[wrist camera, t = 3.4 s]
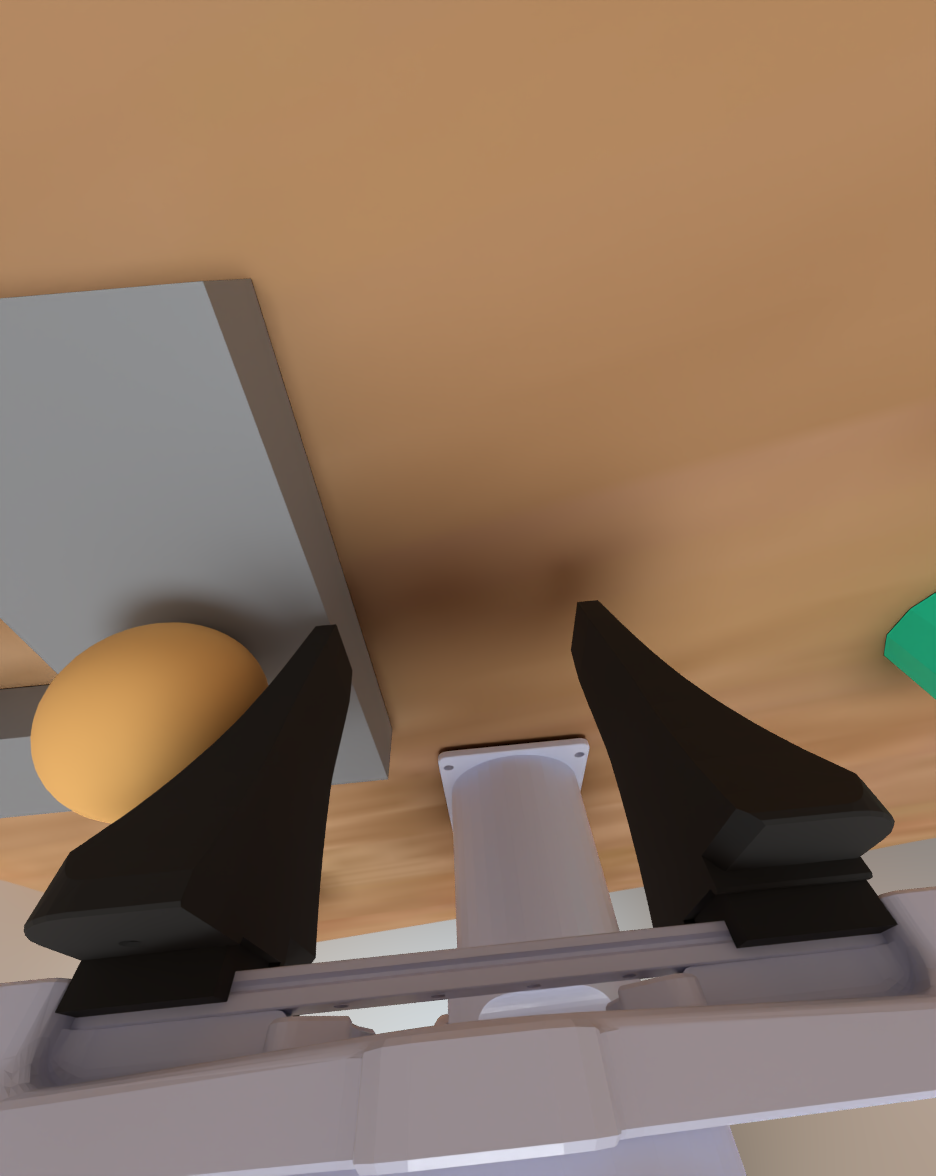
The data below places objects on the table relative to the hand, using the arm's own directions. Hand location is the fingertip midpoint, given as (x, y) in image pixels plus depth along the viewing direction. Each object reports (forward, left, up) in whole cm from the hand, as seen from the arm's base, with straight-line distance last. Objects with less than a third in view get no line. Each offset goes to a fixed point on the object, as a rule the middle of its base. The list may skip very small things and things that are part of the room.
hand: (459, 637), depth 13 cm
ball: (0, +8, +2) cm, 8 cm away
